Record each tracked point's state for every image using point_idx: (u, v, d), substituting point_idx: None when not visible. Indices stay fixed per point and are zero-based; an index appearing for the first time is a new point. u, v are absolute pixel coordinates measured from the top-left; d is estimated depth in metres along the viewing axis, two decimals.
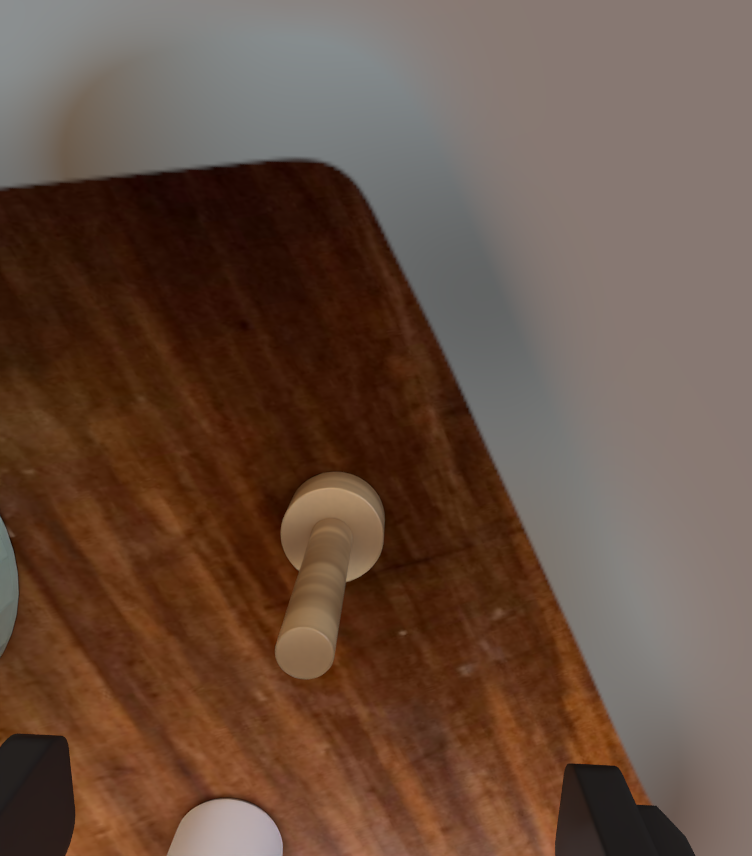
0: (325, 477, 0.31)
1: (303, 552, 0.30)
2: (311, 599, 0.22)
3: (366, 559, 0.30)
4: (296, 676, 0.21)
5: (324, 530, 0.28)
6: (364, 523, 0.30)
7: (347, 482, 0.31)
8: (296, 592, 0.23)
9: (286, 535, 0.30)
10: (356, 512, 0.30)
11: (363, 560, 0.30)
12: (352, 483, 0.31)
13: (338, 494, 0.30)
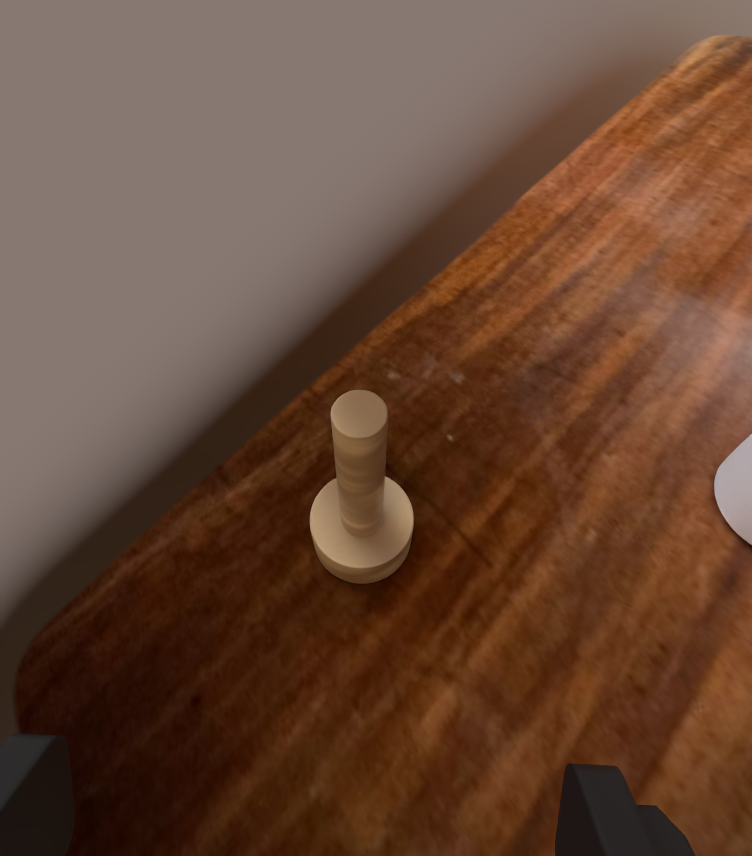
0: (318, 555, 0.31)
1: (389, 536, 0.29)
2: (334, 447, 0.23)
3: None
4: (385, 411, 0.22)
5: (342, 516, 0.28)
6: (336, 494, 0.31)
7: None
8: (348, 471, 0.24)
9: (379, 558, 0.29)
10: (328, 505, 0.30)
11: None
12: None
13: (316, 527, 0.30)
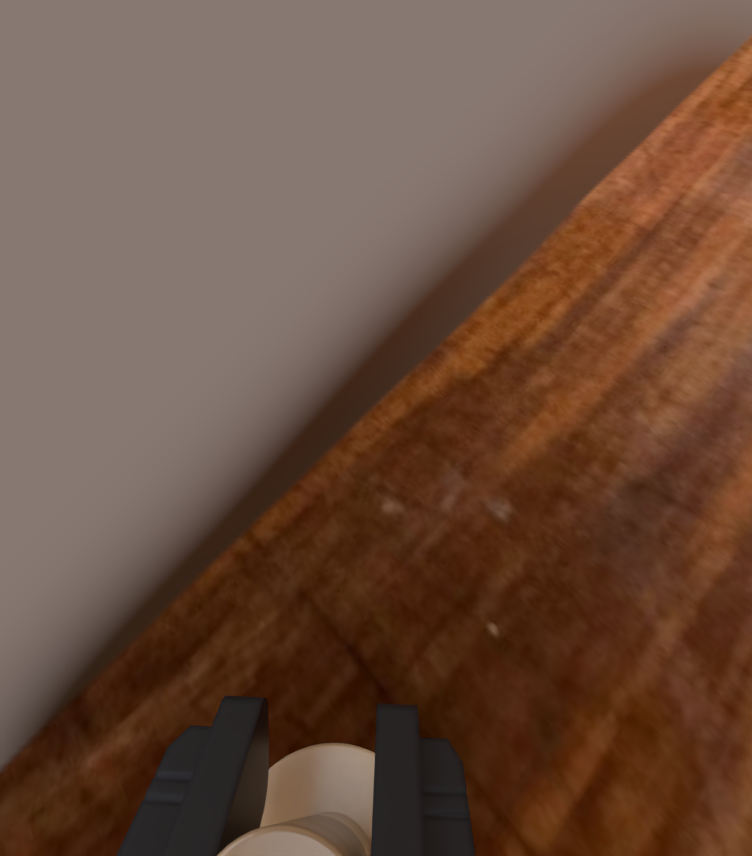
0: None
1: None
2: None
3: (349, 765, 0.16)
4: None
5: None
6: (279, 803, 0.15)
7: None
8: None
9: None
10: None
11: (353, 770, 0.16)
12: None
13: None
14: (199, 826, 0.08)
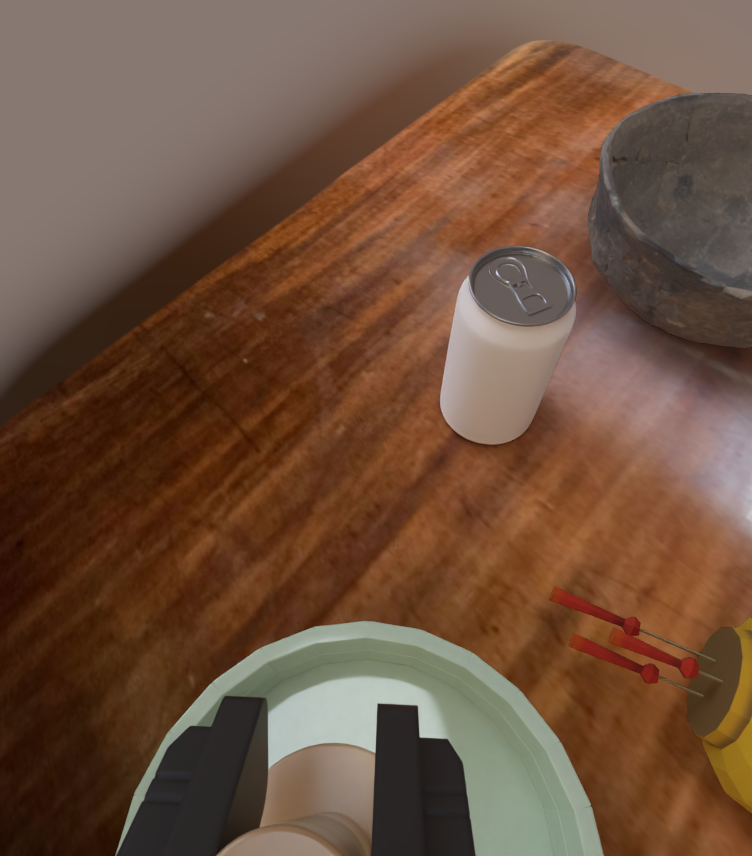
0: None
1: None
2: None
3: (348, 765, 0.16)
4: None
5: None
6: (279, 803, 0.15)
7: None
8: None
9: None
10: None
11: (353, 770, 0.16)
12: None
13: None
14: (198, 826, 0.08)
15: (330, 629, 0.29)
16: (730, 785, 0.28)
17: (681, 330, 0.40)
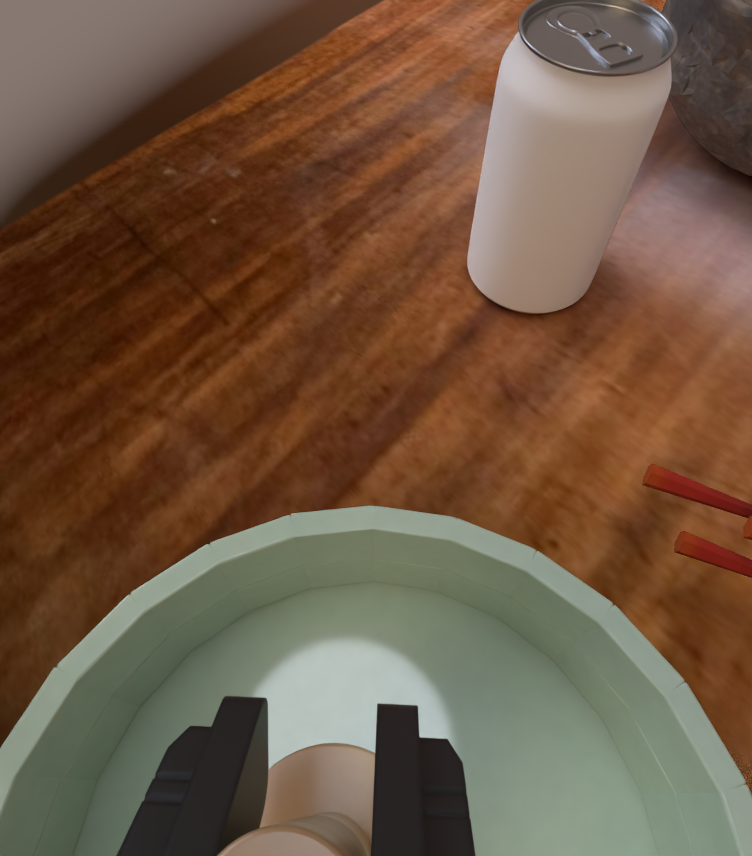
0: None
1: None
2: None
3: (349, 765, 0.16)
4: None
5: None
6: (279, 803, 0.15)
7: None
8: None
9: None
10: None
11: (353, 770, 0.16)
12: None
13: None
14: (199, 826, 0.08)
15: (316, 517, 0.19)
16: None
17: None
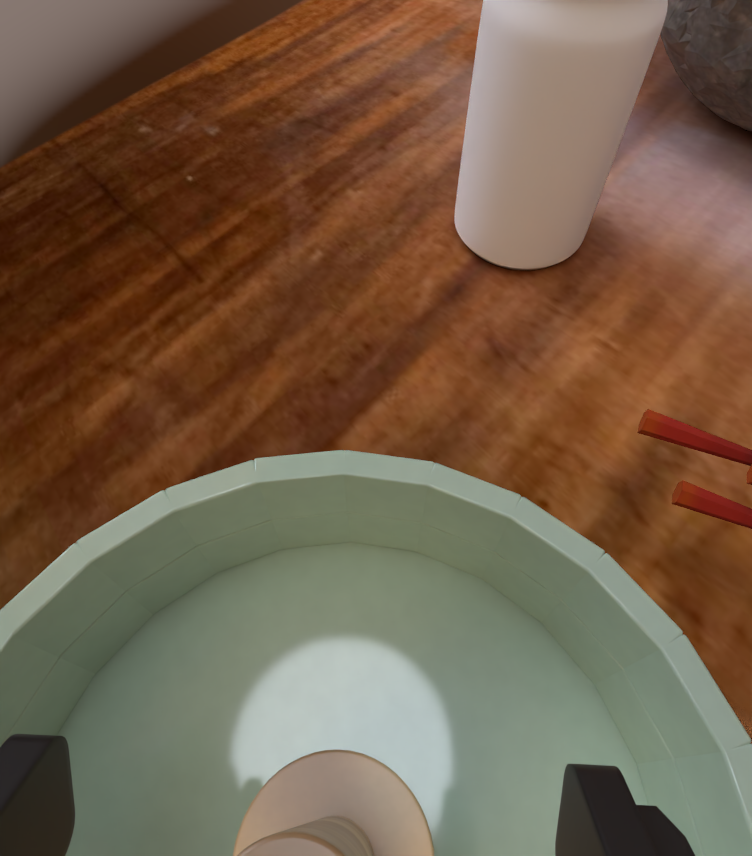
0: None
1: None
2: None
3: (351, 771, 0.16)
4: None
5: None
6: (284, 808, 0.16)
7: None
8: None
9: None
10: (268, 834, 0.16)
11: (355, 776, 0.16)
12: None
13: None
14: None
15: (282, 461, 0.18)
16: None
17: None
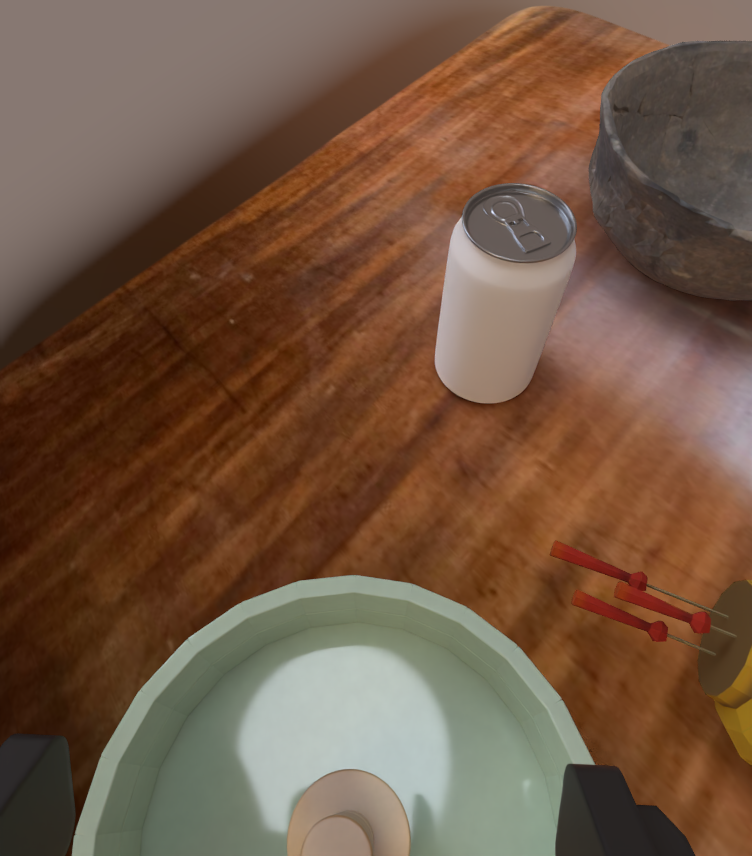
0: None
1: None
2: None
3: (359, 782, 0.26)
4: (369, 854, 0.17)
5: None
6: (318, 805, 0.26)
7: None
8: None
9: None
10: (308, 822, 0.25)
11: (362, 785, 0.26)
12: None
13: (295, 855, 0.25)
14: None
15: (315, 583, 0.28)
16: (746, 747, 0.26)
17: (687, 281, 0.38)
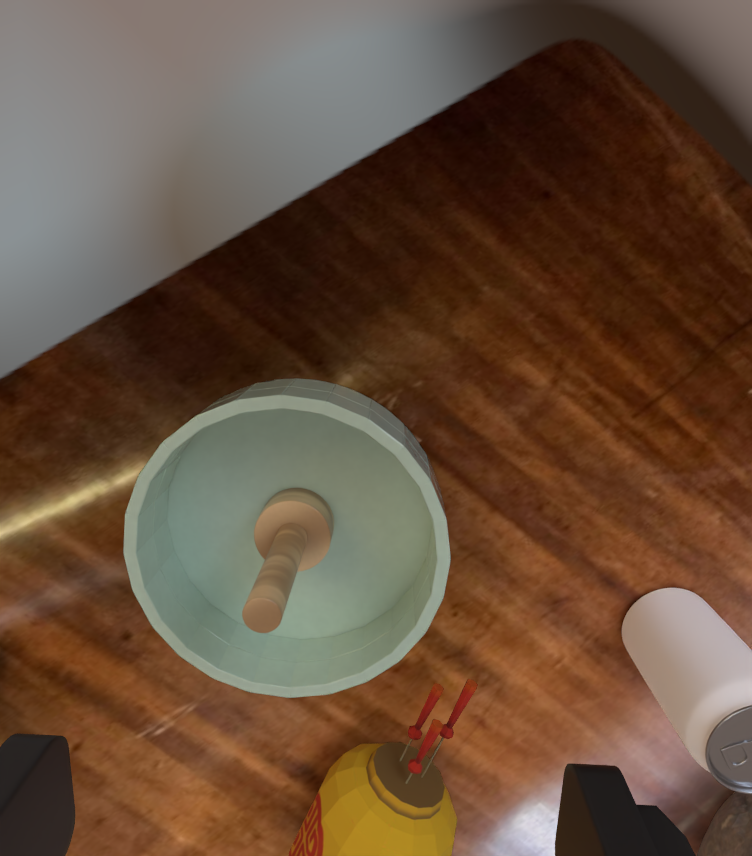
0: (274, 497, 0.41)
1: None
2: (260, 581, 0.33)
3: (323, 543, 0.40)
4: (264, 632, 0.31)
5: (278, 534, 0.39)
6: (309, 518, 0.40)
7: (288, 495, 0.41)
8: (255, 581, 0.34)
9: (261, 548, 0.41)
10: (300, 513, 0.40)
11: (321, 544, 0.40)
12: (292, 494, 0.41)
13: (282, 506, 0.40)
14: None
15: (444, 532, 0.37)
16: (346, 764, 0.43)
17: (719, 822, 0.43)
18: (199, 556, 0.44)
